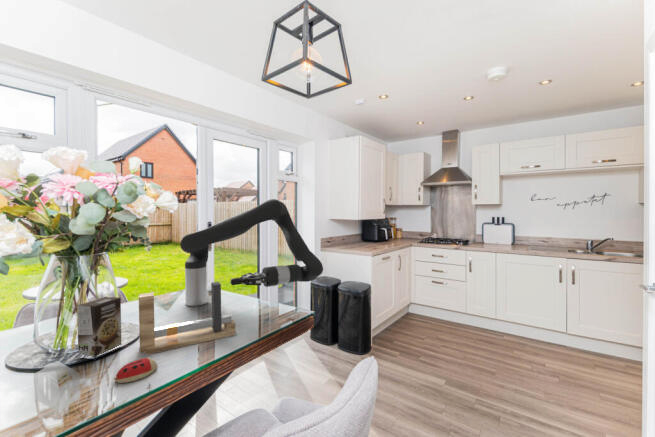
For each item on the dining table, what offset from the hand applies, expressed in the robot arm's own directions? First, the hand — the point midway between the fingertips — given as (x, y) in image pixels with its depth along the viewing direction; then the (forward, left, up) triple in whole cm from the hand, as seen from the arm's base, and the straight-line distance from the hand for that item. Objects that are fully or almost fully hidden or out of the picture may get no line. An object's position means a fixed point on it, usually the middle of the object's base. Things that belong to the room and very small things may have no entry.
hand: (231, 282), depth 106 cm
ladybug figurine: (+11, -31, -18) cm, 38 cm away
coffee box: (-11, -37, -18) cm, 43 cm away
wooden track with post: (-2, -13, -18) cm, 22 cm away
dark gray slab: (-1, -5, -16) cm, 17 cm away
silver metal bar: (-2, -13, -15) cm, 20 cm away
